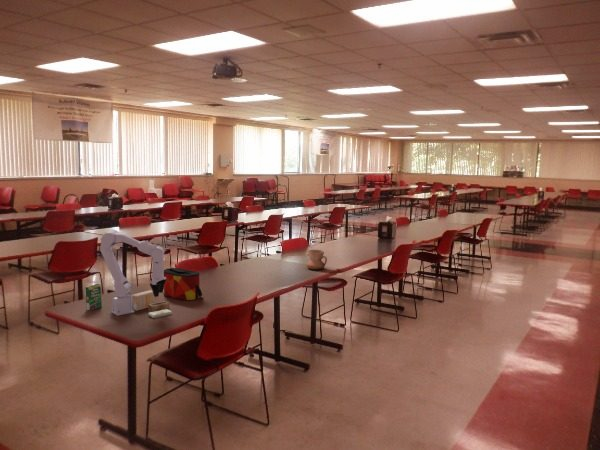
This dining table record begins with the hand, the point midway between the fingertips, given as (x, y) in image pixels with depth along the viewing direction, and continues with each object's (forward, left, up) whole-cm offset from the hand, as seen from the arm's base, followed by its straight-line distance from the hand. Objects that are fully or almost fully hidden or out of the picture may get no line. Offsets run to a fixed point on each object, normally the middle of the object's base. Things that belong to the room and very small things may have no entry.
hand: (158, 294), depth 252 cm
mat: (-2, -5, -10) cm, 11 cm away
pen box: (+1, +2, -10) cm, 10 cm away
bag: (+25, +21, -10) cm, 34 cm away
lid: (-2, -5, -9) cm, 11 cm away
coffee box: (-24, +28, -10) cm, 38 cm away
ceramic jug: (+142, +22, -10) cm, 144 cm away
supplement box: (+5, +15, -6) cm, 17 cm away
